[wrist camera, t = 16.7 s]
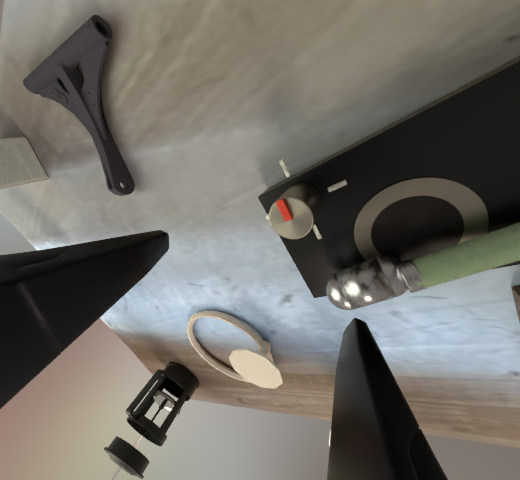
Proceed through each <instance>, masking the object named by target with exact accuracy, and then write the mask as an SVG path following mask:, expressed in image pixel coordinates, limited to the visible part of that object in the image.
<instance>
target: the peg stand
mask: <svg viewBox="0 0 520 480" xmlns="http://www.w3.org/2000/svg"><path fill="white" fill-rule="evenodd" d="M512 291H513V296H514V300H515V304H516V308H517V312H518V317H519V321H520V286H515V287H512Z"/></svg>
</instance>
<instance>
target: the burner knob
mask: <svg viewBox="0 0 520 480" xmlns="http://www.w3.org/2000/svg"><path fill="white" fill-rule="evenodd" d="M320 207H321V196H320V194H319V192H318V190H317V189H316V188H315V187H313V186H312V185H310V184H307V183H296V184H293V185H291V186H290V187H289V188H288V189H287V190H286V191H285V192H284V193H283V194H282V195H281V196H280V197H279V198H278V199H277V200H276V201H275V202H274V203H273V205H272V206H271V208H270V211H269V221H270V224H271V226H272V228H273V229H274V231H275V232H276V233H278V234H279V235H280V236H282V237H284V238H287V239H299V238H302V237H304V236H306V235H307V234H308V233H309V232H310V231H311V229H312V227H313V225H314V222H315V220H316V217H317V215H318V212H319V210H320Z"/></svg>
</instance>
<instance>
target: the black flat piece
mask: <svg viewBox="0 0 520 480" xmlns="http://www.w3.org/2000/svg"><path fill="white" fill-rule="evenodd" d="M111 38H112V32H111V29H110V27H109V26H108V24H107V23H106V22H105V21H104V20H103V19H102V18H101V17H100V16H97V15H93V16H92V17H91V18H90V19H89V20H88V21H87V22H85V23H84V24H83V25H82V26H81V27H80V28H79V29H78V30H77V31H76V32H75V33H74V34H72V35H71V36H70V37H69V38H68V39H67V40H66V41H65V42H64V43H63V44H62V45H61V46H60V47H58V48H57V49H56V50H55V51H54V52H53V53H52V54H51V55H50V56H49V57H48V58H47V59H45V60H44V61H43V62H42V63H41V64H40V65H39V66H38V67H37V68H36V69H35V70H34V71H32V72H31V73H30V74H29V75H28V76H27V77H26V78H25V79H24V80H23V84H24V86H25V87H26V88H27V89H28V90H29V91H31V92H32V93H35V94H40V95H41V96H42V97H46V98H49V99H52V100H54V101H56V102H58V103H60V104H61V105H63V106H64V107H66V108H67V109H68V110H69V111H71V112H72V113H73V114H74V115H75V116H76V117H77V118H78V119H79V120H80V121H81V123H82V124H83V125H84V126H85V127H86V129H87V130H88V131H89V133H90V134H91V136H92V138H93V140H94V143H95V145H96V148H97V150H98V153H99V156H100V159H101V163H102V166H103V170H104V173H105V177H106V181H107V187H108V189H109V190H110V191H111V192H112V193H114V194H116V195H120V196H123V195H127V194H130V193H132V192H133V191H134V183H133V180H132V178H131V176H130V174H129V172H128V170H127V168H126V166H125V163H124V161H123V159H122V157H121V155H120V153H119V151H118V149H117V147H116V145H115V143H114V141H113V139H112V137H111V135H110V132H109V130H108V128H107V126H106V124H105V122H104V120H103V118H102V112H101V106H100V81H101V74H102V68H103V64H104V61H105V58H106V55H107V52H108V49H109V46H108V44H107V42H108V41H109V40H110V39H111ZM80 63H81V66H82V69H83V74H84V79H83V77H82V75H81V73H80V71H79V69H78V67H77V65H78V64H80ZM59 79H61V81H62V82H63V84H64V86H65V87H66V89H67V90H68V91H67V90H66V89H65V88H64V86H63V85H62V84H61V82H60V81H59ZM120 182H121V183H122V184H123V186H124V189H123V188H122V187H121V185H120Z"/></svg>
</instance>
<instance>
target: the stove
mask: <svg viewBox="0 0 520 480" xmlns="http://www.w3.org/2000/svg"><path fill="white" fill-rule="evenodd" d="M279 163H280V165H281V167H282V169H283V171H284V173H285V175H286V177H287V178H288V177H289V176H291V174H290V172H289V170H288V168H287V166H286V164H285V162H284V160H281V161H279ZM421 177H437V178H444V179H449V180H453V181H455V182H458V183H461V184H463V185H464V186H466V187H468V188H470V189H471V190H472V191H473V192H475V193H476V194H477V195H478V196H479V197H480V198H481V200H482V201H483V203H484V205H485V207H486V209H487V212H488V219H489V223H488V230H487V233H490V232H493V231H496V230H499V229H501V228H504V227H507V226H510V225H513V224H516V223H518V222H520V56H519V57H517V58H515V59H513V60H512V61H510V62H508V63H506V64H504V65H502V66H500V67H498V68H496V69H495V70H493V71H491V72H489V73H487V74H485V75H483V76H481V77H479V78H477V79H476V80H474V81H472V82H470V83H468V84H466V85H464V86H462V87H460V88H458V89H457V90H455V91H453V92H451V93H449V94H447V95H445V96H443V97H441V98H440V99H438V100H436V101H434V102H432V103H430V104H428V105H426V106H424V107H422V108H421V109H419V110H417V111H415V112H413V113H411V114H409V115H407V116H405V117H403V118H402V119H400V120H398V121H396V122H394V123H392V124H390V125H388V126H386V127H384V128H383V129H381V130H379V131H377V132H375V133H373V134H371V135H369V136H367V137H366V138H364V139H362V140H360V141H358V142H356V143H354V144H352V145H350V146H348V147H347V148H345V149H343V150H341V151H339V152H337V153H335V154H333V155H331V156H329V157H328V158H326V159H324V160H322V161H320V162H318V163H316V164H314V165H312V166H311V167H309V168H307V169H305V170H303V171H301V172H299V173H297V174H295V175H293V176H292V177H290V178H288V179H286V180H284V181H282V182H280V183H278V184H276V185H274V186H273V187H271V188H269V189H267V190H266V191H265V192H263V193H262V194H261V195H260V196H259V197H258V198H259V200H260V202H261V204H262V205H263V207H264V209H265V211H266V213H267V215H265V217H266V219H269V211H270V208H271V206H272V205H273V203H274V202H275V201H276V200H277V199H278V198H279V197H280V196H281V195H282V194H283V193H284V192H285V191H286V190H287V189H288V188H289V187H290V186H291V185H293V184H296V183H307V184H310V185H312V186H313V187H315V188H316V189H317V190H318V192H319V194H320V196H321V207H320V210H319V212H318V215H317V217H316V220H315V222H314V225H313V227H312V229H311V231H310V232H309V233H308V234H307V235H306V236H304V237H302V238H299V239H287V238H284V237H282V236H280V235H279V236H280V238H281V239H282V241H283V243H284V245H285V247H286V248H287V250H288V252H289V254H290V255H291V257H292V259H293V261H294V263H295V264H296V266H297V268H298V270H299V272H300V273H301V275H302V277H303V279H304V280H305V282H306V284H307V286H308V288H309V289H310V291H311V293H312V295H313V297H314V298H317V297H323V296H327V293H326V284H327V281H328V279H329V278H330V277H331V276H332V275H333V274H334V273H336V272H338V271H341V270H343V269H346V268H349V267H351V266H354V265H356V264H359V263H362V262H364V261H367V260H366V259H365V258H364V257H363V256H362V255H361V253H360V252H359V250H358V248H357V245H356V243H355V238H354V228H355V223H356V219H357V217H358V215H359V213H360V211H361V210H362V208H363V207H364V205H365V204H366V203H367V202H368V201H369V200H370V199H371V198H372V197H373V196H374V195H376V194H377V193H378V192H380V191H381V190H383V189H385V188H387V187H388V186H391V185H393V184H395V183H398V182H401V181H404V180H408V179H413V178H421ZM518 264H520V261H516V262H513V263H509V264H506V265H503V266H499V267H496V268H500V267H506V266H512V265H518ZM492 269H494V268H492Z"/></svg>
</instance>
